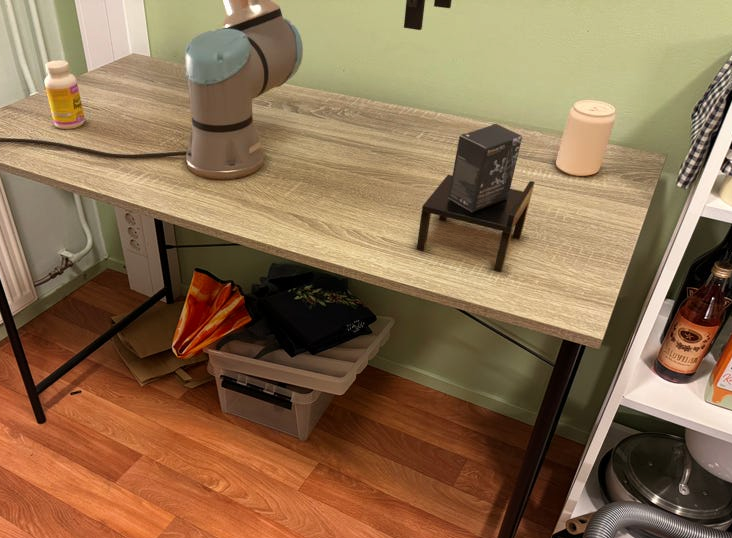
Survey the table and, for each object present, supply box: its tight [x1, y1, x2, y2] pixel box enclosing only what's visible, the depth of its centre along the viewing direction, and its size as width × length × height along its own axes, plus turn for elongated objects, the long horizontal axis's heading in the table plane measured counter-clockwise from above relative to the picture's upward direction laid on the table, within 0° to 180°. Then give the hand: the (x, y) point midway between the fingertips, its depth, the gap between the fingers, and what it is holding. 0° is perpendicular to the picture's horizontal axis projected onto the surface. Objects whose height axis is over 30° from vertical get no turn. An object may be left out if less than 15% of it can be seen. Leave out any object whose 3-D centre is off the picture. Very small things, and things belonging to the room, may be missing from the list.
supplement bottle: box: [44, 59, 86, 130], centre depth 146 cm, size 7×7×13 cm
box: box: [448, 123, 523, 212], centre depth 104 cm, size 8×6×11 cm
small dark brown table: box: [416, 174, 535, 273], centre depth 109 cm, size 14×12×10 cm
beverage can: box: [555, 99, 617, 177], centre depth 128 cm, size 8×8×12 cm
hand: (428, 17), depth 110 cm, fingers open, 13 cm apart
